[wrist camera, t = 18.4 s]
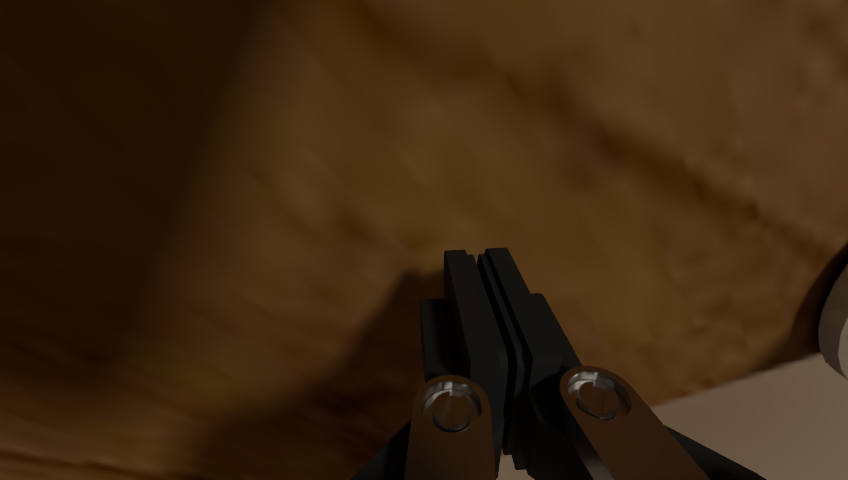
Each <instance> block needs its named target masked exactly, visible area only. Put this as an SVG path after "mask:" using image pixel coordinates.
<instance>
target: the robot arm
mask: <svg viewBox="0 0 848 480" xmlns="http://www.w3.org/2000/svg"><path fill="white" fill-rule="evenodd" d="M420 318H421V340H422V354H423V366H424V378H425V384H424V385H422V387H421V388H420V389H419V391H418V392H417V393H416V397H415V400H414V403H413V411H412V419H411V420H410V421H409V422H408V423H407V424H406V425H405V426H404V427H403V428H402V429H401V430H400V431H399V432H398V433H397V434H396V435H395V436H394V437H393V438H392V439H391V440H390V441H389V442H388V443H387V444H386V445H385V446H384V447H383V448H382V449H381V450H380V451H379V452H378V453H377V454H376V455H375V456H374V457H373V458H372V459H371V460H370V461H369V462H368V463H367V464H366V465H365V466H364V467H363V468H362V469H361V470H360V471H359V472H358V473H357V474H356V475H355V476H354V477H353V478H352V479H351V480H496V479H497V477H498V471H499V463H500V455H501V447H502V450H503V453H504V455H512V458H513V462H514V465H515V469H516V470H523V469H526V470H527V473H528V475H530V476H531V477H532V478H534V479H535V480H766V479H765V478H763V477H761V476H760V475H758V474H757V473H755V472H753V471H751V470H749V469H747V468H745V467H743V466H741V465H740V464H738V463H736V462H734V461H732V460H730V459H728V458H726V457H724V456H722V455H720V454H718V453H717V452H715V451H713V450H711V449H709V448H707V447H705V446H703V445H701V444H699V443H698V442H696V441H694V440H692V439H690V438H688V437H686V436H684V435H682V434H680V433H678V432H676V431H675V430H673V429H671V428H669V427H667V426H665V425H663V423H662V422H661V421H660V420H659V419H658V417H657V416H656V415H655V414H654V413H653V411H652V410H651V409H650V408H649V407H648V406H647V404H646V403H645V402H644V401H643V400H642V398H641V397H640V396H639V395H638V394H637V393H636V391H635V390H634V389H633V388H632V387H631V386H630V385H629V384H628V383H627V382H626V381H625V380H624V379H622V378H621V377H619V376H618V375H616V374H614V373H613V372H610V371H608V370H605V369H603V368H599V367H594V366H582V364H581V363H580V361H579V359H578V357H577V355H576V353H575V352H574V350H573V348H572V346H571V344H570V343H569V341H568V339H567V337H566V335H565V334H564V332H563V330H562V328H561V326H560V325H559V323H558V321H557V319H556V317H555V316H554V314H553V312H552V310H551V308H550V307H549V305H548V303H547V301H546V299H545V298H544V296H543V295H542V294H540V293H534V294H530V292H529V290H528V288H527V286H526V284H525V282H524V280H523V278H522V276H521V274H520V272H519V270H518V268H517V266H516V264H515V262H514V260H513V258H512V256H511V254H510V253H509V251H508V249H507V248H490V249H486V250H485V254H479V255H478V261H477V264H476V261H475V258H474V256H473V255H467V254H466V251H465V250H451V251H445V252H444V299H430V300H420ZM818 336H819V349H820V351H821V353H822V355H823V357H824V359H825V361H826V362H827V363H828V364H829V365H830V366H831V367H832V368H833V369H834V370H836V371H837V372H838V373H839V374H841V375H842V376H843V377H844V378H846V379H847V380H848V263H847V264H846V266H845V267H844V269H843V270H842V272H841V273H840V275H839V276H838V278H837V279H836V281H835V282H834V284H833V286H832V288H831V291H830V293H829V295H828V297H827V299H826V302H825V304H824V306H823V309H822V314H821V318H820V322H819V327H818Z"/></svg>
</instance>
